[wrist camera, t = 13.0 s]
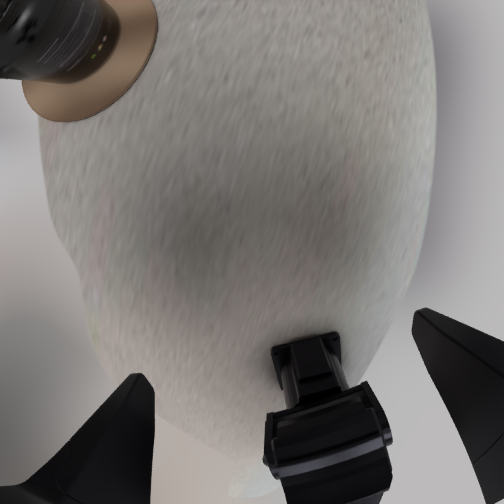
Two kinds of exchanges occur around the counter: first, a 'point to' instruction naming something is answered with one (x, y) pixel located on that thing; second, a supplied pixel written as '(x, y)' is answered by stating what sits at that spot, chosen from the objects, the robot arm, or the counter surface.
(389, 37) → the counter surface
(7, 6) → the supplement bottle
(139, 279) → the counter surface
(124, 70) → the walnut trivet
